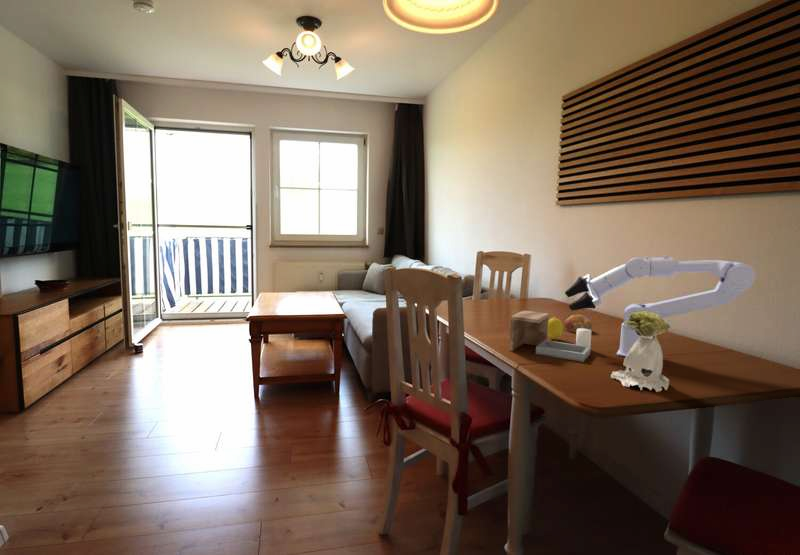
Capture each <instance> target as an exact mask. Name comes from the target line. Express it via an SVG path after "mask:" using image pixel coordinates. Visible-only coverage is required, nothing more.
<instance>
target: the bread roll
mask: <svg viewBox="0 0 800 555" xmlns="http://www.w3.org/2000/svg"><path fill="white" fill-rule="evenodd" d="M592 326H593V325H592V322H591V321H590V319H589V318H588V317H586V316H585V315H582V314H571V315H570V316H569V317H568V318H566V319H565V320H564V326H563V329H564V330H565V332H568V333H575V334H576V332H577V329H578V328H584V329H589V330H591V331H592V329H593V328H592Z"/></svg>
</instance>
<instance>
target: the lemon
mask: <svg viewBox="0 0 800 555" xmlns="http://www.w3.org/2000/svg"><path fill="white" fill-rule="evenodd" d="M563 330H564V326H563V322H562V320H560V319H559V318H558V317H557V316H553V317H551V318H549V322H548V336H549V338H550V337H551V339H553V340H555V339H557V338H559V337H561V336H562V334H563Z"/></svg>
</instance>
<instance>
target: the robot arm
mask: <svg viewBox="0 0 800 555" xmlns="http://www.w3.org/2000/svg"><path fill="white" fill-rule="evenodd" d="M677 273H708V274H712V275H715V276H717V277H720V279H719V281H718V283H717V284H716V286H715V288H714V289H711V290H707V291H702V292H698V293H693V294H689V295H684V296H680V297H675V298H671V299H666V300H661V301H657V302H651V303H650V302H649V303H645V304H644V303H643V304H642V303H636V302H635V303H630V304H629V305H627V306H626V307H625V308H624V311H623V322H624V321H630V320H629V318H630V316H631V314H632V313H635V312H640V311H648V312H652V313H655V314H657V315H658V316H660V317H661V318H662V319H663V318H668V317H672V316H678V315H683V314H687V313H692V312H696V311H697V312H698V311H701V310H707V309H711V308H717V307H722V306H725V305H729V304H731V303H732V302H733V301H735V300H736V299H737V298H738V297H739V296H740V295H741V294H743V293H744V292H746V291H747V290H749V289H750V288H752V285H753V283H754V281H755V279H756V271H755V269H754V268H753V266H751V265H749V264H748V263H743V262H740V261H728V260H721V259H720V260H719V259H711V260H709V259H708V260H707V259H706V260H687V261H686V260H685V261H677V260H676V259H675V258H673V257H672V256H671V257H669V255H662V257H649V256H644V258H641V257H633V258H629V260H627V262H626V263H623V264H621V265H619V266H616V267H613V268H612V269H609V270H608V271H606V272H604V273H602V274H600V275H598V276H596V277H594V278H592V277H591V275H590V274H589V273H588V274H586V275H585V276H583V277H582V276H579V277H578V278H577V280H576V281H574V283H573V284H572V285H571V286H570V287H569V288H568V289H567V290H566V291H565V292H564V294H565V296H566V297H567V298H570V297H573V296H575V295H579V294H582V293H584V294H583V295H581V296H580V297H579V298H577V299H576V300H575V301H573V302H571V303H570V304H568V307H569V309H570V310H571V311H573V312H574V311H578V310H583V309H593V310H594V309H596V307H597V306H599V305H601V304H602V301H601V296H603V295H605V294H607V293H609V292H611V291H613V290H615V289H617V288H619V287H622V286H623V285H624V286H625V284H627V283H628V282H630V281H632V280H635V278H637V279H641V278H643V277H645V276H647V277H648V278H649V277H650V278H652V277H653V278H655V277H656V278H657V277H658V278H660V277H665V278H669V277H671V278H672V277H674V276H675V275H676V274H677ZM588 292H589V293H588ZM623 322H622V323H621V325H620V326H621V329H620V340H619V342H620V343H619V349H618V350H617V352H616V355H617V356H622V357H626V355H627V354H628V352H629V351H630V349H631V347H632V346H633V345H634V344H635V342H636V341H637V340H638V339H639V337H640V336H639V335H637V334H636V331H635V330H632V329H630V328H629V327H627V326H626V324H624V323H623Z"/></svg>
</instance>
